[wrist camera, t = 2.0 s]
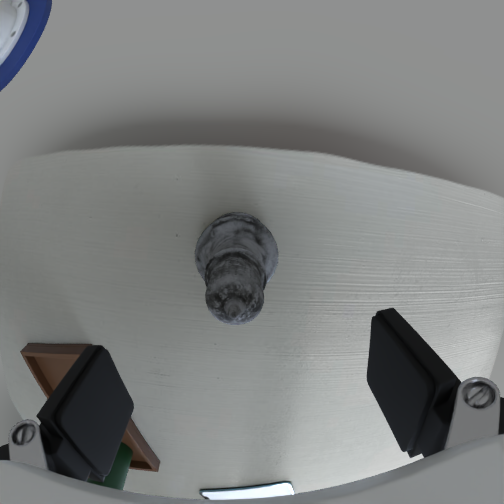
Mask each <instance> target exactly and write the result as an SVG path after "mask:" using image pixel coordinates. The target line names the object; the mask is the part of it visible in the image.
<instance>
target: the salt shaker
mask: <svg viewBox="0 0 504 504" xmlns="http://www.w3.org/2000/svg"><path fill="white" fill-rule="evenodd" d="M195 262H196V265H197V268H198V272H199V273H200V275H201V276H202V278H203V279H204V281H205V283H206V286H207V290H206V294H205V295H206V304H207V306H208V309H209V311H210V312H211V314H212V315H213V316H214V317H215V318H216V319H218V320H219V321H221V322H223V323H227V324H231V325H240V324H245V323H247V322H250V321H252V320H253V319H254V318H255V317H257V315H258V314H259V313H260V311H261V309H262V306H263V303H264V293H263V290H264V289H265V286H266V283H267V282H269V280H270V279H271V277H272V276H273V274H274V273H275V270H276V267H277V264H278V249H277V244H276V241H275V239H274V238H273V236H272V234H271V232H270V231H269V230H268V229H267V228H266V227H265V226H264V225H263V224H262V223H261V222H260V221H259V220H258V219H256V218H255V217H253V216H251V215H249V214H246V213H241V212H233V213H229V214H225V215H223V216H221V217H220V218H218V219H217V220H216V221H215V222H213V223H212V224H210V225H209V226H208V227H207V228H206V229H205V230H204V231H203V233H202V234H201V236H200V238H199V240H198V242H197V246H196V250H195Z"/></svg>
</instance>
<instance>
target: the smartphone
mask: <svg viewBox="0 0 504 504" xmlns="http://www.w3.org/2000/svg"><path fill="white" fill-rule="evenodd" d="M291 494H295V493H294V491H293V488H292V486H291V483H290V482H281V483H275V484H269V485H262V486H254V487H245V488H235V489H221V490H202V491H200V495H201V496H203V497H204V498H205V499H212V500H225V499H251V498H264V497H274V496H283V495H291Z"/></svg>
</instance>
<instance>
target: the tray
mask: <svg viewBox="0 0 504 504" xmlns="http://www.w3.org/2000/svg"><path fill="white" fill-rule="evenodd" d="M89 345H92V344H33V343H28V344H27V345H26V346H25V347H24V348H23V349H22V350H21V351H20V352H21V354H22V356H23V358H24V360H25V362H26V364H27V365H28V367H29V369H30V371H31V373H32V374H33V376H34V378H35V379H36V381H37V383H38V384H39V386H40V388H41V389H42V391H43V392H44V394H45V396H46V397H47V399H48V398H49V397H50V395H51V394H52V393H53V391H54V390H55V388H56V387H57V386H58V384H59V383H60V381H61V380H62V379H63V377H64V376H65V375H66V373H67V372H68V370H69V369H70V368H71V366H72V365H73V364H74V362H75V361H76V360H77V358H78V357H79V356H80V355H81V353H82V352H83V351H84V349H85V348H86V347H87V346H89ZM121 442H123V443H124V444H126V445H127V446H129V447H130V448H131V449H132V451H133V456H132V459H131V462H130V466H129V469H136V470H144V471H154V472H158V470H159V464H160V461H159V460H158V458H157V457H156V455H155V454H154V453H153V451H152V450H151V448H150V447H149V445H148V444H147V443H146V441H145V440H144V438H143V437H142V435H141V434H140V432H139V431H138V429H137V427H136V426H135V424H134V423H133V421H132V419H131V418H130V420H129V422H128V425H127V427H126V430H125V433H124V435H123V438H122V441H121Z"/></svg>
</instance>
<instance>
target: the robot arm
mask: <svg viewBox="0 0 504 504" xmlns="http://www.w3.org/2000/svg"><path fill="white" fill-rule="evenodd" d="M28 15H29V4H28V2H27V1H26V0H0V65H1V64H2V63H3V62H4V61H5V59H6V58H7V57H8V55H9V54H10V53H11V51H12V49H13V48H14V46H15V45H16V43H17V41H18V40H19V38H20V36H21V34H22V32H23V30H24V27H25V25H26V22H27V19H28ZM367 382H368V385H369V387H370V389H371V391H372V393H373V394H374V396H375V398H376V400H377V402H378V404H379V406H380V408H381V410H382V412H383V414H384V416H385V418H386V420H387V422H388V424H389V426H390V428H391V430H392V432H393V434H394V436H395V438H396V440H397V442H398V444H399V446H400V448H401V450H402V451H403V452H406V451H407V452H408V455H409V457H410V458H412V457H414V456H417V455H419V454H421V453H422V454H423V456H424V458H423V459H420V460H418V461H415V462H413V463H410V464H407V465H405V466H402V467H399V468H397V469H394V470H391V471H388V472H385V473H382V474H378V475H375V476H372V477H368V478H365V479H362V480H358V481H354V482H351V483H347V484H343V485H339V486H334V487H330V488H325V489H320V490H315V491H310V492H304V493H298V494H291V495H283V496H274V497H264V498H251V499H225V500H212V499H186V498H173V497H163V496H154V495H147V494H140V493H134V492H128V491H123V490H118V489H113V488H108V487H104V486H100V485H96V484H92V483H88V482H87V479H88V477H89V478H90V479H91V480H94V481H98V482H104V479H105V477H106V476H108V475H109V473H110V471H111V468H112V465H113V462H114V460H115V457H116V454H117V451H118V449H119V446H120V443H121V441H122V438H123V435H124V433H125V430H126V427H127V425H128V422H129V420H130V417H131V415H132V412H133V409H134V404H133V401H132V399H131V397H130V395H129V393H128V391H127V389H126V387H125V385H124V383H123V381H122V379H121V377H120V375H119V373H118V371H117V369H116V367H115V365H114V362H113V360H112V358H111V356H110V353H109V352H108V350H107V349H105V348H104V347H103V346H101V345H89V346H87V347H86V348H85V349H84V351H83V352H82V353H81V355H80V356H79V357H78V358H77V360H76V361H75V362H74V364H73V365H72V366H71V368H70V369H69V370H68V372H67V373H66V375H65V376H64V377H63V379H62V380H61V381H60V383H59V384H58V386H57V387H56V388H55V390H54V391H53V393H52V394H51V395H50V397H49V398H48V400H47V401H46V403H45V404H44V406H43V407H42V408H41V410H40V411H39V413H38V414H37V418H38V419H39V420H40V422H41V424H40V425H38V424H37V423H36V422H35V421H33V420H28V419H27V420H22V421H21V422H18V423H17V424H16V425H14V426H13V428H12V429H11V431H10V433H9V438H8V439H9V443H8V444H6V445H3V446H1V447H0V504H504V398H502V397H500V392H499V389H498V387H497V385H496V384H494V383H493V382H492V381H490V380H489V379H487V378H482V377H473V378H469V379H467V380H465V381H463V382H461V381H460V380H459V379H458V378H457V376H456V375H455V374H454V373H453V372H452V371H451V369H450V368H449V367H448V366H447V365H446V364H445V363H444V361H443V360H442V359H441V358H440V357H439V356H438V355H437V354H436V353H435V351H434V350H433V349H432V348H431V347H430V346H429V345H428V344H427V343H426V342H425V341H424V339H423V338H422V337H421V336H420V335H419V334H418V333H417V332H416V331H415V330H414V329H413V328H412V327H411V326H410V325H409V323H408V322H407V321H406V320H405V319H404V318H403V317H402V316H401V315H400V314H399V313H398V312H397V311H396V310H395V309H394V308H389V309H385V310H380V311H377V313H376V316H373V317H372V320H371V335H370V348H369V359H368V368H367Z"/></svg>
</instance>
